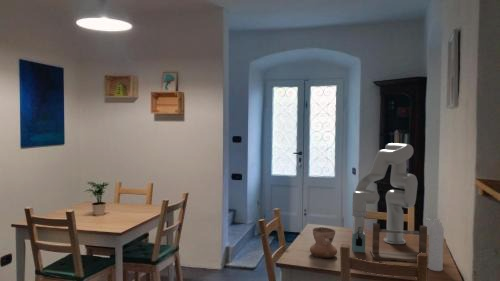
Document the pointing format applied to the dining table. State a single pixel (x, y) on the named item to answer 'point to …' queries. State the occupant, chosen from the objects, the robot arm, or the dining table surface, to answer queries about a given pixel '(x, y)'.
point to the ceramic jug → (323, 243)
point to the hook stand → (396, 255)
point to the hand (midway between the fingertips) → (357, 243)
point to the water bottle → (435, 245)
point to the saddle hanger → (354, 247)
